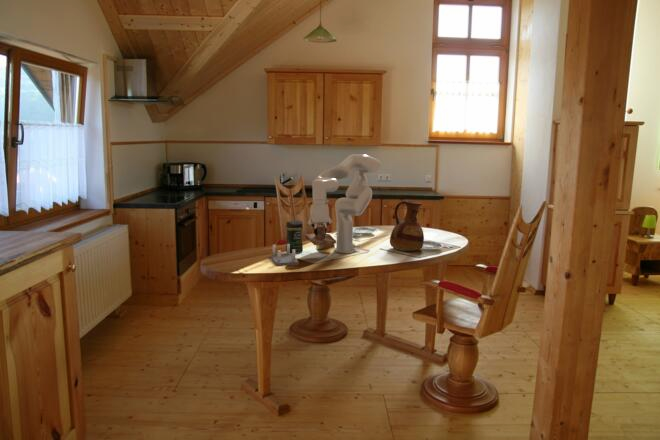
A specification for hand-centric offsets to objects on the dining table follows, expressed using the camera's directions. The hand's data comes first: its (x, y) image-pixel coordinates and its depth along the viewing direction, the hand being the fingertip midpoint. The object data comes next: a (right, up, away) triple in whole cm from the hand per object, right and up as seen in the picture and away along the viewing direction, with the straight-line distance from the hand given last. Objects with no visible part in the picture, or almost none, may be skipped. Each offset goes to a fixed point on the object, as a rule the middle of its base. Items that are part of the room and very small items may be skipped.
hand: (320, 234), depth 288 cm
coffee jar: (-15, -11, +16) cm, 25 cm away
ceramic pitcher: (+51, -10, +24) cm, 57 cm away
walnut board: (0, -3, +1) cm, 3 cm away
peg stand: (-20, -14, -4) cm, 25 cm away
